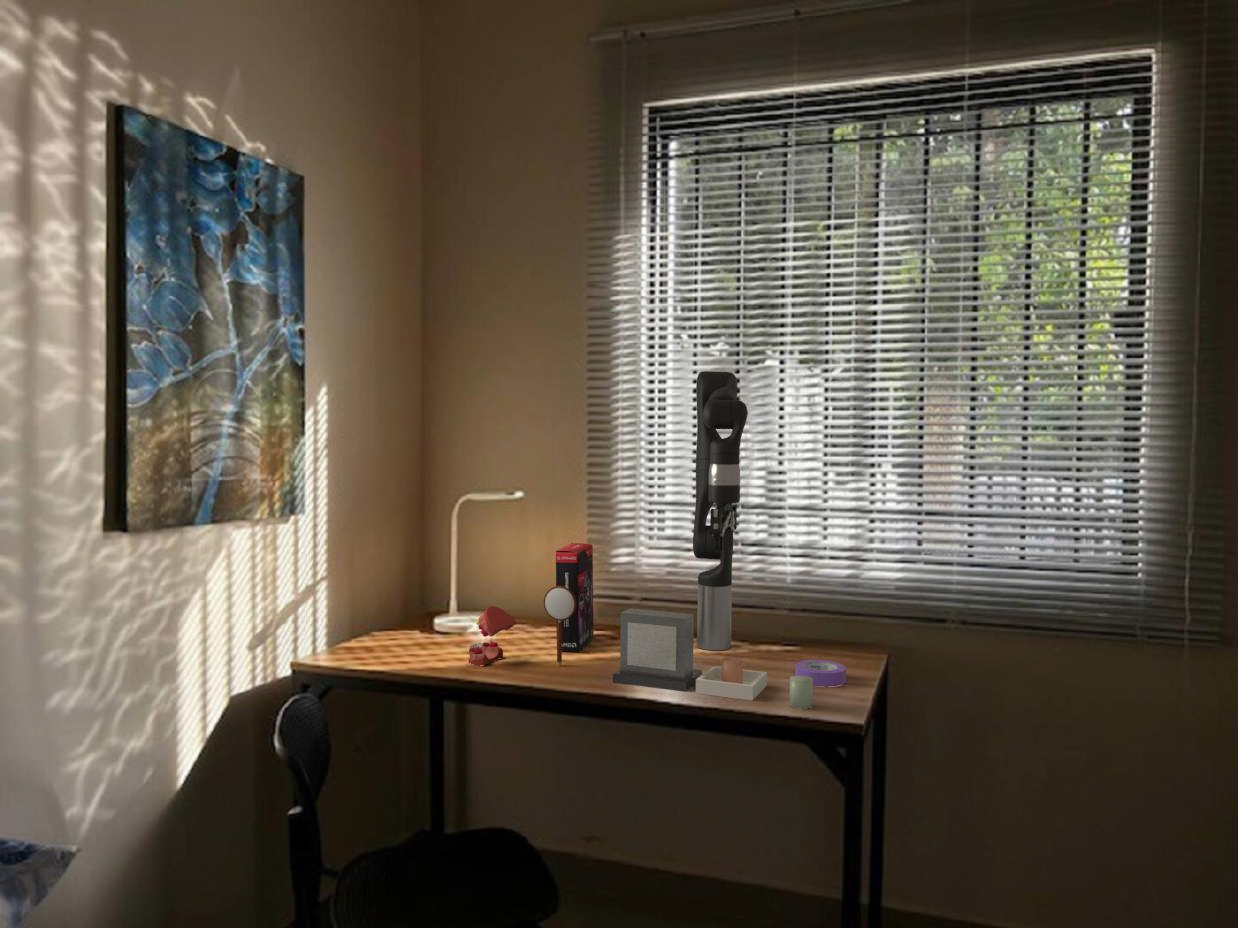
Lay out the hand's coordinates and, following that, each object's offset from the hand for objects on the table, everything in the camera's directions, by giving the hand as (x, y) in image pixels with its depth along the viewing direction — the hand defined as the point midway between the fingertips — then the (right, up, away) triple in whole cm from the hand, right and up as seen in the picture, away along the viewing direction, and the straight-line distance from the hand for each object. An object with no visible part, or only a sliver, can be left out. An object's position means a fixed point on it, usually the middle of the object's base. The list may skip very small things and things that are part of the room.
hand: (723, 550), depth 217 cm
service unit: (-16, -30, -5) cm, 35 cm away
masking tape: (+22, -31, -4) cm, 38 cm away
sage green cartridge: (+14, -31, -25) cm, 42 cm away
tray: (+1, -31, -12) cm, 33 cm away
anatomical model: (-58, -30, +11) cm, 66 cm away
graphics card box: (-37, -29, +29) cm, 55 cm away
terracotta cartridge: (+1, -30, -12) cm, 32 cm away
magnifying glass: (-40, -30, +7) cm, 50 cm away
